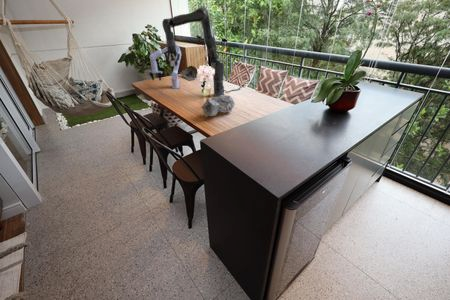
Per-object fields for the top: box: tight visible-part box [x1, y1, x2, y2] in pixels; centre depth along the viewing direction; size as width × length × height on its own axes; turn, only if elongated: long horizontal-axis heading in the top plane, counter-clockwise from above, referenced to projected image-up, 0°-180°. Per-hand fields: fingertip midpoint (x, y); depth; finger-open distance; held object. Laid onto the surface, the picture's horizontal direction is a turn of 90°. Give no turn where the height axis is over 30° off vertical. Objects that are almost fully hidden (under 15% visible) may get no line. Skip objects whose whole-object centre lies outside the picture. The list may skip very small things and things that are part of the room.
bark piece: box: [178, 65, 198, 81], centre depth 260 cm, size 19×8×30 cm
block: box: [169, 60, 176, 67], centre depth 190 cm, size 4×5×4 cm
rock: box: [200, 95, 236, 118], centre depth 162 cm, size 17×17×28 cm
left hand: (156, 80), depth 217 cm, fingers open, 7 cm apart
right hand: (173, 65), depth 191 cm, fingers closed on block, 4 cm apart
